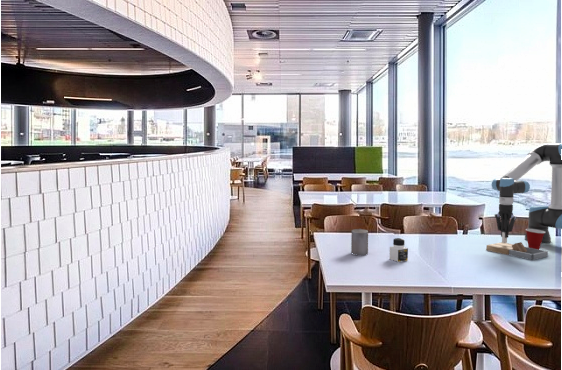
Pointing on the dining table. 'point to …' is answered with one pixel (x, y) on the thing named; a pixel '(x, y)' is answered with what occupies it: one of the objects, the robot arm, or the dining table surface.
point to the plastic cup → (534, 238)
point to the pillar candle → (359, 242)
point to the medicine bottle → (398, 250)
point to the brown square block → (519, 247)
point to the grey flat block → (534, 254)
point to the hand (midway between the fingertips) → (504, 242)
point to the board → (500, 248)
